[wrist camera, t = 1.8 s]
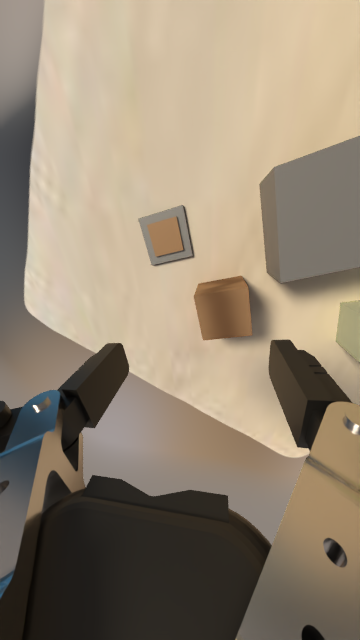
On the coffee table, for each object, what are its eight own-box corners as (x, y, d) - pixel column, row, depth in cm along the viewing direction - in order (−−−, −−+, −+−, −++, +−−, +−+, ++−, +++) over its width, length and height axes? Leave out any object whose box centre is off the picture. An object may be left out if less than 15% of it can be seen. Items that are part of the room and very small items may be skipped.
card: (183, 205, 22) (182, 204, 22) (192, 255, 24) (192, 256, 24) (139, 218, 24) (137, 218, 23) (152, 264, 26) (151, 265, 25)
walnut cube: (241, 275, 25) (248, 287, 19) (245, 315, 27) (252, 335, 22) (198, 283, 26) (193, 296, 21) (205, 320, 28) (203, 340, 23)
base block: (368, 146, 17) (435, 108, 12) (357, 251, 21) (404, 258, 16) (259, 184, 20) (274, 167, 15) (266, 272, 24) (280, 283, 19)
